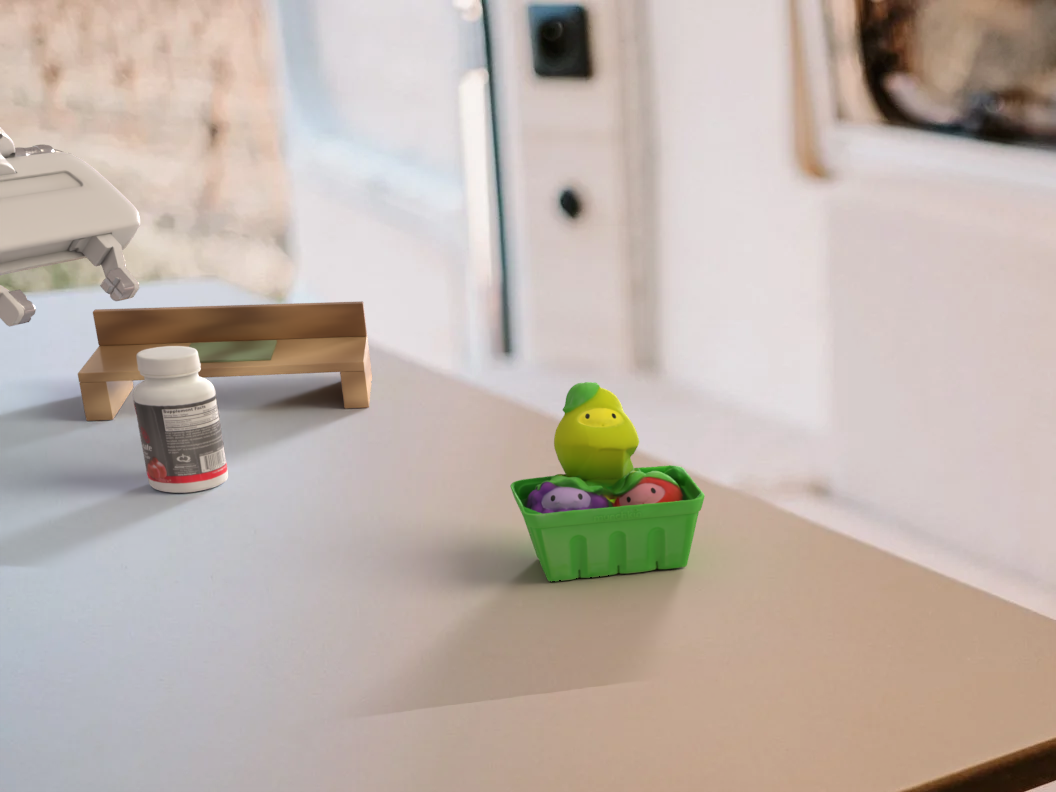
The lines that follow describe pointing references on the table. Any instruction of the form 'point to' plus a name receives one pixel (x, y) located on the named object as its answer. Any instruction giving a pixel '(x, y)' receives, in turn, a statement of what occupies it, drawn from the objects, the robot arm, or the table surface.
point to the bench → (230, 346)
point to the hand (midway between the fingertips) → (78, 306)
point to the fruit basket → (606, 498)
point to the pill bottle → (178, 422)
